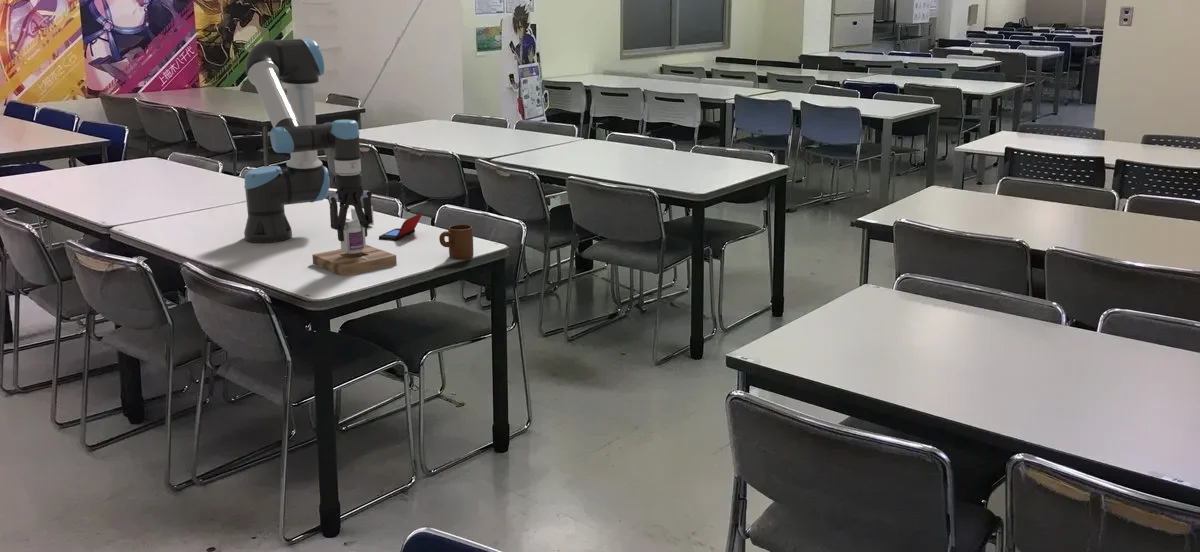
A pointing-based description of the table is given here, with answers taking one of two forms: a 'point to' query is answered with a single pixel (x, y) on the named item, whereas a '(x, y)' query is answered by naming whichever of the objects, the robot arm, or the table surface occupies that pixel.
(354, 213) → the bracket
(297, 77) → the robot arm
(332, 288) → the table surface
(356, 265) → the board
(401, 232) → the handheld game console
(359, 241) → the pill bottle
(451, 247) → the mug
